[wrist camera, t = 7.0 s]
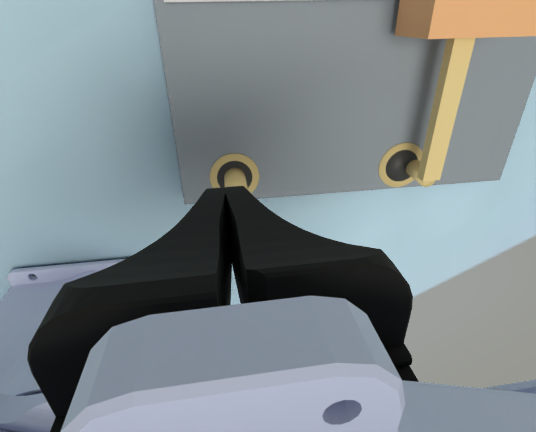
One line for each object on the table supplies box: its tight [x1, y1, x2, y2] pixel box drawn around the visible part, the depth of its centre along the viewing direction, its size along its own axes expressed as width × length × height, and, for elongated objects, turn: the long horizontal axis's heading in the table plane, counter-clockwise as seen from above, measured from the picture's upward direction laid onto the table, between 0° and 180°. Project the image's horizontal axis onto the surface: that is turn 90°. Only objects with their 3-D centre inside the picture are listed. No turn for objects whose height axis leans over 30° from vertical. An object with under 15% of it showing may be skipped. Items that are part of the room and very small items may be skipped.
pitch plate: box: [153, 0, 536, 204], centre depth 18 cm, size 20×14×2 cm
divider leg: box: [395, 0, 536, 187], centre depth 16 cm, size 5×12×3 cm, turn 1°
